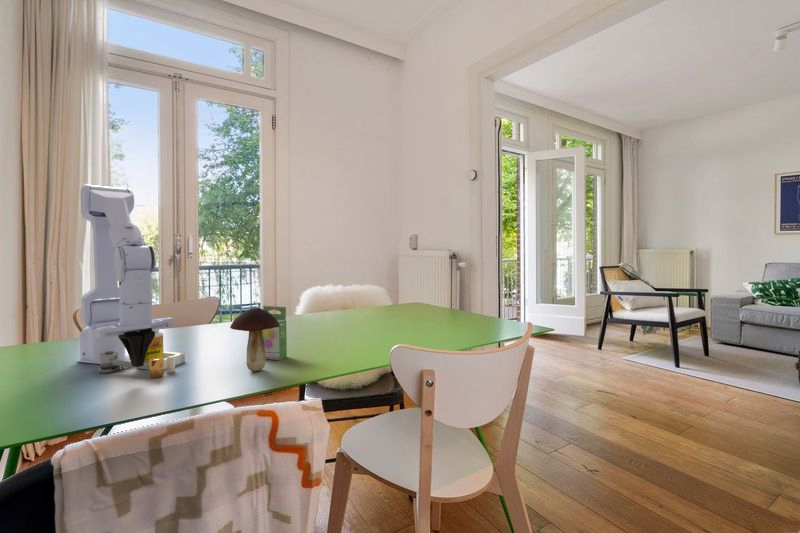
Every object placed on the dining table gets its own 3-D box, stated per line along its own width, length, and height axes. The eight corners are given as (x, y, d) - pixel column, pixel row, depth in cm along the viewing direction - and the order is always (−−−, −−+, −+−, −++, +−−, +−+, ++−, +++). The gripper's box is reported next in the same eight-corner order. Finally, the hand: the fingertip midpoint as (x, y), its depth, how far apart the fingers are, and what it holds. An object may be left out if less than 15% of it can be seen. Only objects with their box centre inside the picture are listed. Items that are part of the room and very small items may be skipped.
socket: (120, 368, 95) (120, 359, 94) (151, 358, 103) (151, 350, 103) (155, 372, 92) (155, 363, 92) (184, 361, 100) (184, 353, 100)
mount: (94, 372, 91) (94, 369, 91) (111, 367, 95) (111, 364, 95) (108, 374, 90) (108, 370, 90) (124, 369, 94) (124, 365, 94)
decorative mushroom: (268, 361, 101) (267, 303, 100) (288, 371, 93) (288, 308, 92) (223, 370, 94) (222, 307, 93) (241, 382, 85) (240, 313, 85)
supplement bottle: (136, 371, 93) (135, 328, 92) (136, 365, 97) (135, 324, 97) (164, 367, 96) (163, 325, 95) (163, 361, 100) (162, 321, 100)
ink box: (255, 358, 104) (254, 307, 103) (264, 354, 107) (263, 305, 107) (278, 360, 102) (278, 309, 101) (287, 356, 106) (286, 306, 105)
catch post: (165, 372, 92) (165, 357, 92) (171, 370, 93) (170, 355, 93) (171, 373, 92) (170, 358, 91) (176, 370, 93) (176, 356, 93)
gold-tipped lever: (96, 371, 92) (95, 353, 91) (111, 366, 95) (110, 349, 95) (154, 378, 87) (154, 359, 86) (168, 373, 90) (167, 355, 90)
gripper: (106, 308, 76) (108, 378, 76) (180, 299, 88) (181, 360, 89) (88, 305, 79) (91, 372, 80) (162, 297, 92) (164, 355, 92)
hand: (137, 365), depth 85 cm, fingers closed
